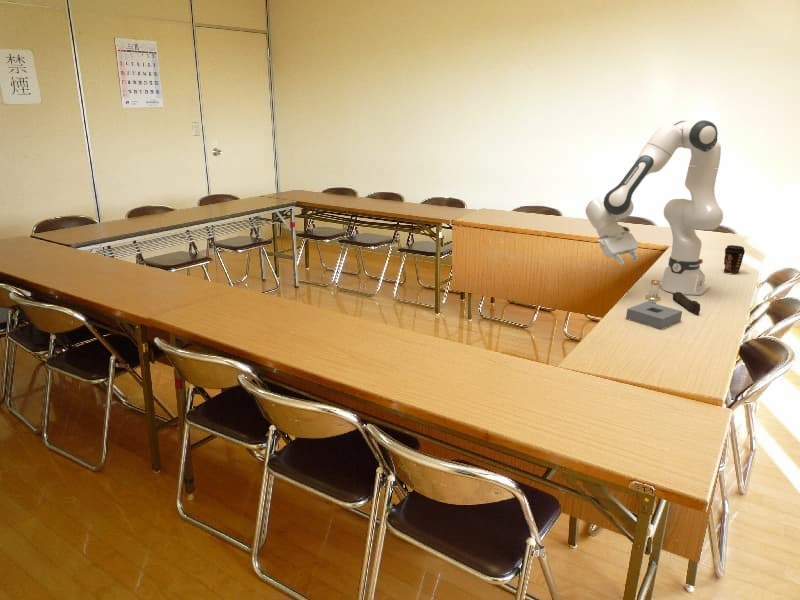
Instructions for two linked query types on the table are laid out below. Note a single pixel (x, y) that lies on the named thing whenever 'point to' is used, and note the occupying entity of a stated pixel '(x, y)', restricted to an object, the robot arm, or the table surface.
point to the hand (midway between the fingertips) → (629, 262)
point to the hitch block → (654, 315)
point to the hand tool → (687, 303)
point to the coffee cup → (733, 258)
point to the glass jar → (653, 292)
